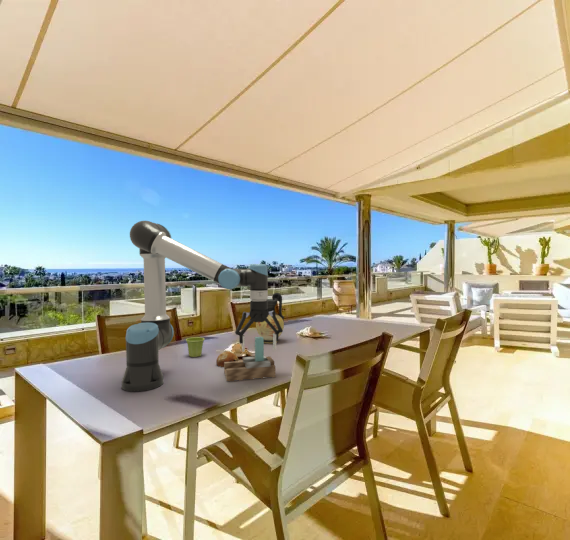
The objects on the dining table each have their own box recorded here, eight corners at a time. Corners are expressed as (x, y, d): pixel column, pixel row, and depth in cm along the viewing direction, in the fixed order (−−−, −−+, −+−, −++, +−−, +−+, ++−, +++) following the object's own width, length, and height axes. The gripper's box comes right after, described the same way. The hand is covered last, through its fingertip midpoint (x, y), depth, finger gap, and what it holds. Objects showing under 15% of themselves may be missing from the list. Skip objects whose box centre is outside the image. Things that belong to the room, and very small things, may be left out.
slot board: (226, 381, 139) (226, 366, 139) (224, 372, 151) (224, 358, 151) (275, 377, 144) (275, 362, 144) (269, 368, 156) (269, 355, 156)
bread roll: (229, 368, 169) (224, 352, 171) (244, 362, 165) (238, 346, 166) (215, 374, 161) (210, 357, 163) (231, 367, 156) (225, 350, 158)
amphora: (283, 338, 220) (283, 291, 220) (285, 344, 203) (285, 293, 203) (255, 339, 219) (255, 291, 219) (255, 345, 202) (254, 293, 202)
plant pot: (207, 353, 184) (207, 337, 184) (201, 358, 174) (200, 341, 174) (190, 353, 185) (189, 337, 185) (183, 358, 175) (182, 340, 175)
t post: (253, 372, 145) (253, 339, 144) (250, 367, 151) (250, 336, 151) (268, 370, 146) (268, 338, 146) (265, 366, 152) (265, 335, 152)
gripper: (230, 302, 141) (230, 354, 142) (289, 300, 148) (289, 350, 148) (228, 300, 149) (228, 349, 149) (285, 298, 155) (285, 346, 155)
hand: (259, 349), depth 148 cm, fingers open, 13 cm apart
